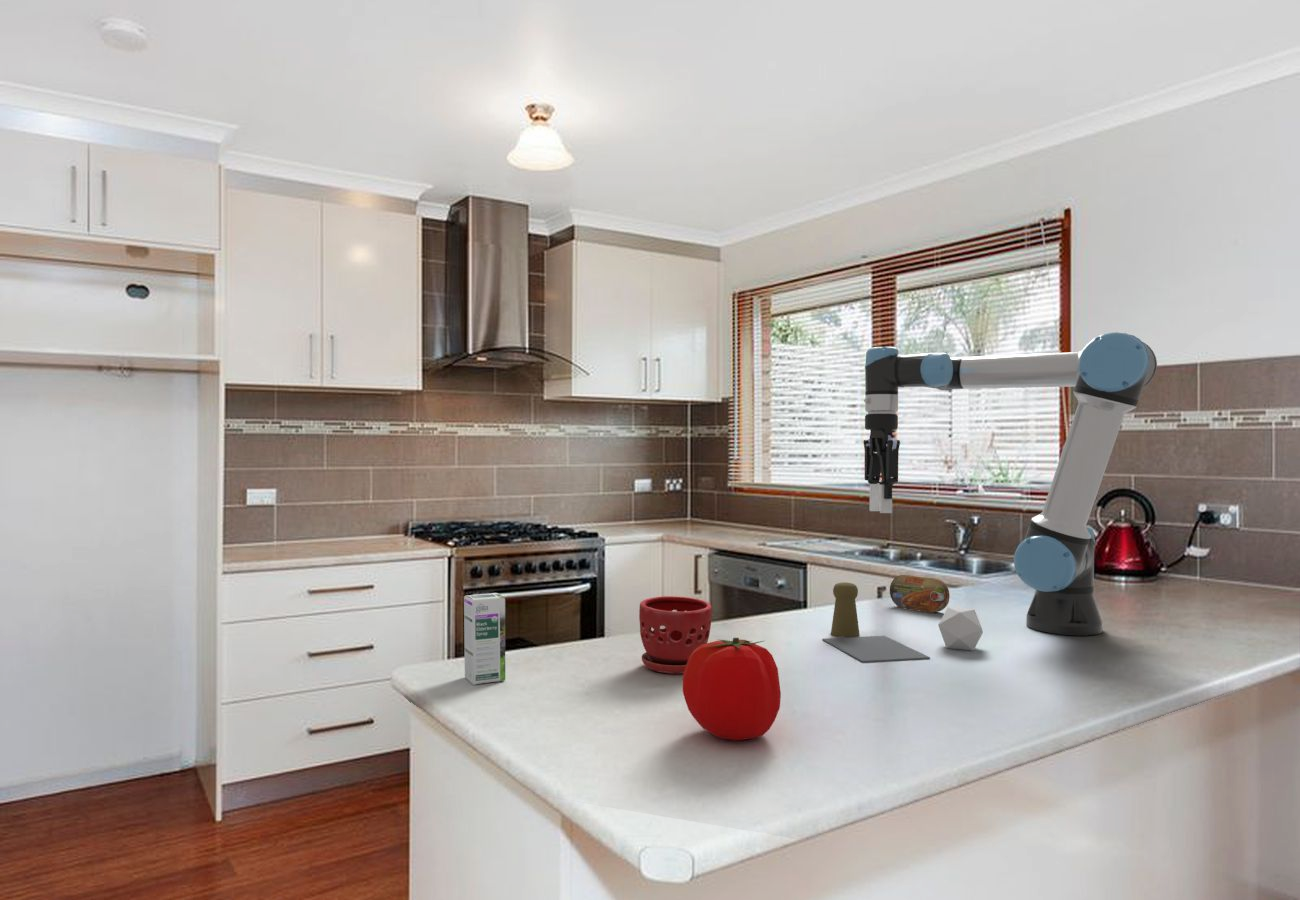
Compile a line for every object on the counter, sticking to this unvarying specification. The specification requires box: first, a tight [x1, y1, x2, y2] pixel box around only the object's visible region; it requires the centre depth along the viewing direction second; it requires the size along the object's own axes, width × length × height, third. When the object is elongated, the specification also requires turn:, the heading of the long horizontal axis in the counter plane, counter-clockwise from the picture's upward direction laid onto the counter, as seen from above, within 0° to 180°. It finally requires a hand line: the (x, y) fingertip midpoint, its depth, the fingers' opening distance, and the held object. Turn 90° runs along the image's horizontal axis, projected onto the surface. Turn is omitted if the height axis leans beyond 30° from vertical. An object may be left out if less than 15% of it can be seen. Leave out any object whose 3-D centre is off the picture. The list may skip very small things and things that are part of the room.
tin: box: [889, 574, 950, 614], centre depth 207 cm, size 15×3×8 cm, turn 43°
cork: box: [830, 582, 860, 638], centre depth 180 cm, size 6×6×11 cm
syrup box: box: [463, 592, 506, 686], centre depth 145 cm, size 6×6×14 cm
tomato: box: [682, 637, 782, 741], centre depth 119 cm, size 16×14×14 cm
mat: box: [822, 635, 931, 663], centre depth 168 cm, size 18×14×1 cm
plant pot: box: [638, 595, 713, 675], centre depth 153 cm, size 13×13×12 cm
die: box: [937, 606, 983, 652], centre depth 169 cm, size 8×9×10 cm
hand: (880, 511), depth 199 cm, fingers open, 4 cm apart
